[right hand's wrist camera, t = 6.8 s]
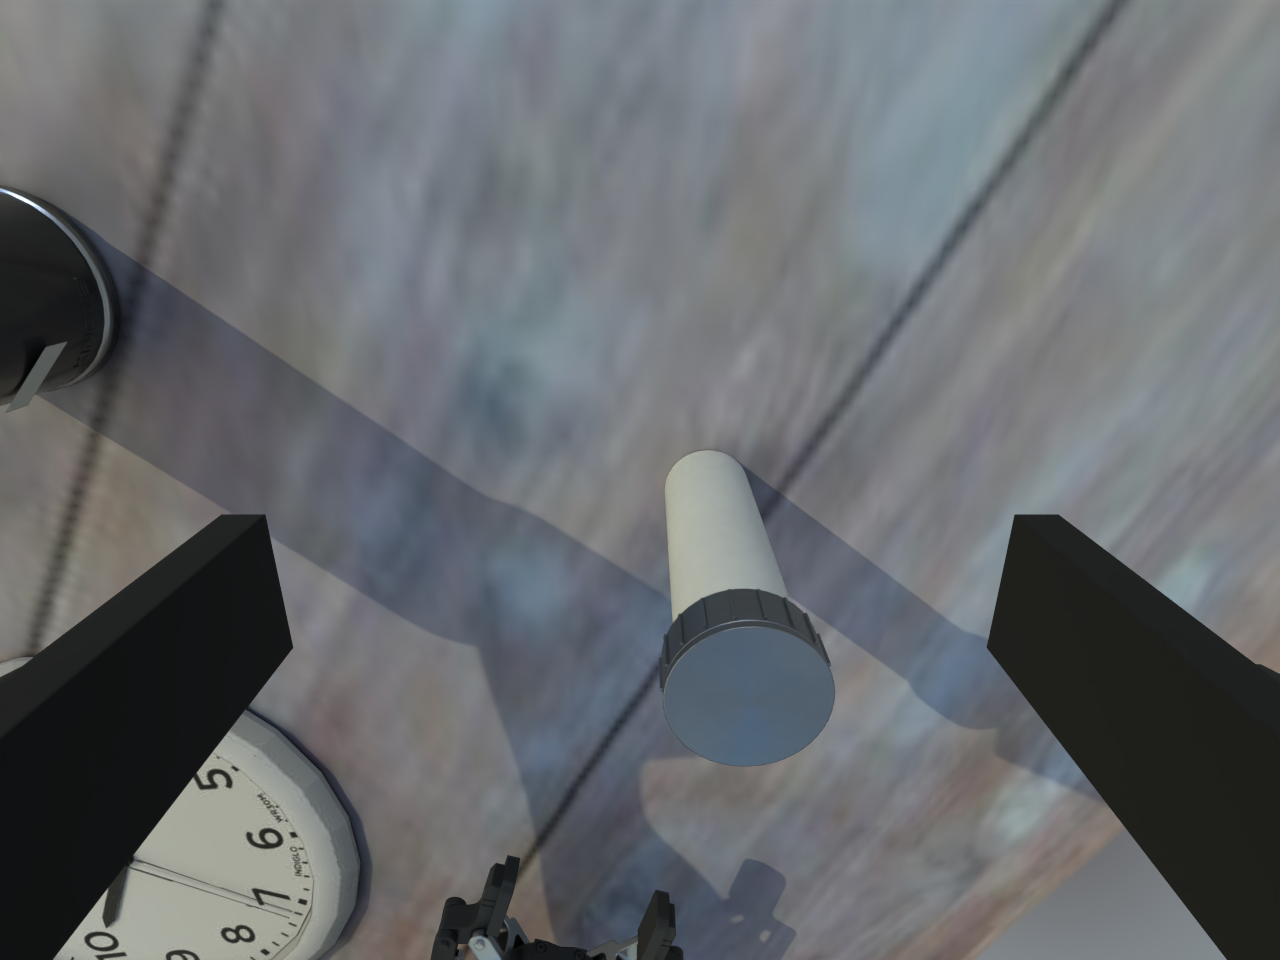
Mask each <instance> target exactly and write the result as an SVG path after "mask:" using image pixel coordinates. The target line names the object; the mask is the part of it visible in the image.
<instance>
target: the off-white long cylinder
mask: <svg viewBox="0 0 1280 960" xmlns="http://www.w3.org/2000/svg"><path fill="white" fill-rule="evenodd" d="M665 500H666V517H667V534H668V550H669V567H670V584H671V601H672V617H673V622H674V621H675V620H676V619H677V617H678V614H679V613H680V614H681V613H682V612H683V611H684V610H685V609H687V608H688V607H689V606H690V605H692V604H693V603H695V602H696V601H698V600H700V598H702V597H703V598H704V597H706V596H708V595H711V594H714V593H717V592H721V591H724V590H728V589H745V588H747V589H760V590H763V591H767V592H770V593H773V594H776V595H779V596H781V597H783V598H784V597H786V598H787V600H788V601H790V599H789V596H788V593H787V590H786V587H785V584H784V582H783V579H782V576H781V573H780V570H779V567H778V564H777V562H776V559H775V556H774V553H773V550H772V547H771V544H770V542H769V539H768V536H767V533H766V530H765V527H764V525H763V522H762V519H761V516H760V513H759V510H758V507H757V505H756V502H755V499H754V496H753V493H752V490H751V487H750V485H749V482H748V479H747V476H746V474H745V471H744V470H743V468H742V467H741V465H740V464H739V463H738V462H737V461H736V460H735V459H733V458H732V457H731V456H729V455H727V454H724V453H722V452H718V451H712V450H704V451H698V452H694V453H691V454H689V455H687V456H685V457H683V458H682V459H681V460H679V461H678V462H677V463H676V464H675V465H674V466H673V468H672V469H671V471H670V472H669V474H668V477H667V480H666V484H665Z"/></svg>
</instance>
